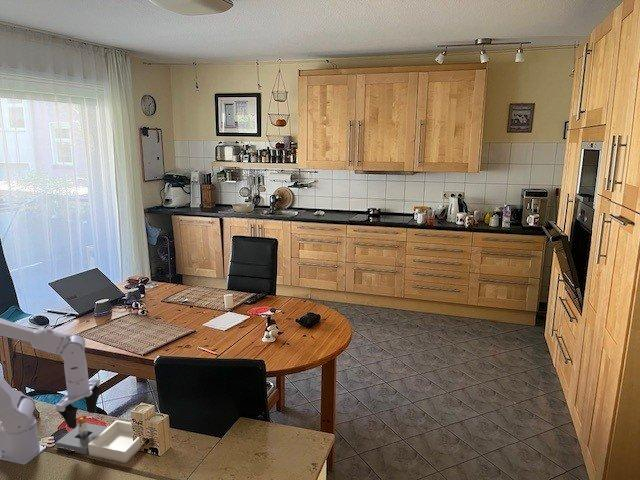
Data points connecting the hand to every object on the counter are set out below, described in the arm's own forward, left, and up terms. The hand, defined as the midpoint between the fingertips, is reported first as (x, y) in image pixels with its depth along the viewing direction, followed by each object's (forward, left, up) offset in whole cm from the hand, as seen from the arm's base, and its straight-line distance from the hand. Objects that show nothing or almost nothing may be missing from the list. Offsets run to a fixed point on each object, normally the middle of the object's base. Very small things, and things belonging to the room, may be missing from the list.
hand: (82, 419), depth 136 cm
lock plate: (0, 0, -7) cm, 7 cm away
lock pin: (0, 0, -7) cm, 7 cm away
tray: (+12, +1, -7) cm, 14 cm away
